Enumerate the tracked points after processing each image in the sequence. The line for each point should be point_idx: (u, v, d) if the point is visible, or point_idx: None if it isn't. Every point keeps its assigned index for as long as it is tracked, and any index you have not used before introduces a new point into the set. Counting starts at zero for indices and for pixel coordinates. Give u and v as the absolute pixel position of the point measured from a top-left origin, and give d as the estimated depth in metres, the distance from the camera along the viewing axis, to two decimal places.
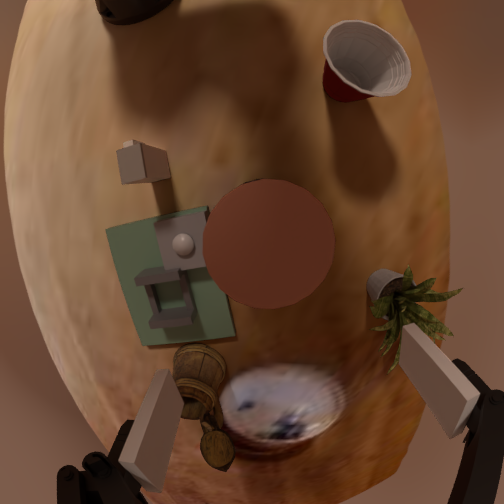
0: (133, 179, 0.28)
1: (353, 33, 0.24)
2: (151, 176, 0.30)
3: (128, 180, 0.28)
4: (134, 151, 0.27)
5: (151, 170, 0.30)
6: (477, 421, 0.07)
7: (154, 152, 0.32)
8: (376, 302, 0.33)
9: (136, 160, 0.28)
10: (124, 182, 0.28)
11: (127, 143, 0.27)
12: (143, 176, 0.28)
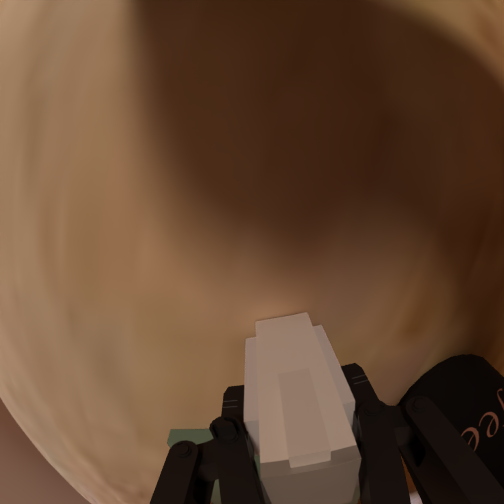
0: None
1: None
2: None
3: None
4: (335, 474, 0.06)
5: None
6: (359, 434, 0.09)
7: None
8: None
9: (336, 487, 0.07)
10: None
11: (307, 458, 0.06)
12: (346, 501, 0.07)
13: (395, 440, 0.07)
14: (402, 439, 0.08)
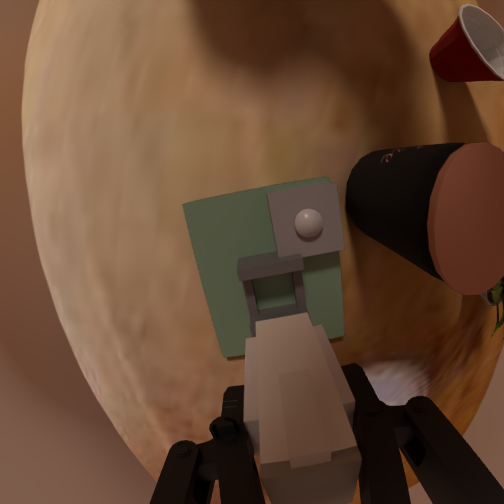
0: None
1: (470, 17, 0.15)
2: None
3: None
4: (335, 475, 0.06)
5: None
6: (359, 434, 0.09)
7: None
8: None
9: (336, 488, 0.07)
10: None
11: (307, 459, 0.06)
12: (346, 501, 0.07)
13: (395, 440, 0.07)
14: (403, 440, 0.08)
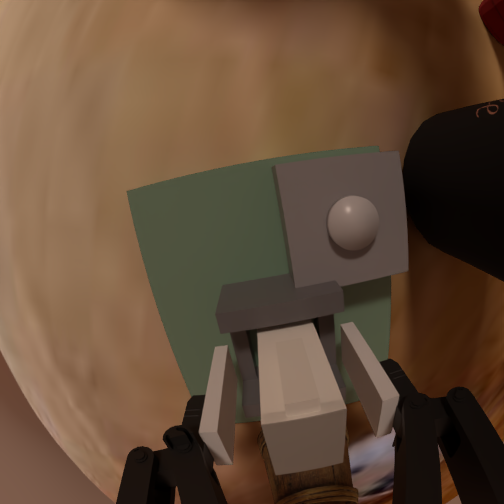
0: (310, 468, 0.09)
1: None
2: None
3: (295, 470, 0.09)
4: (325, 426, 0.08)
5: None
6: (401, 426, 0.08)
7: None
8: None
9: (327, 442, 0.09)
10: (283, 472, 0.09)
11: (300, 406, 0.08)
12: (338, 461, 0.09)
13: (435, 434, 0.07)
14: (443, 431, 0.08)
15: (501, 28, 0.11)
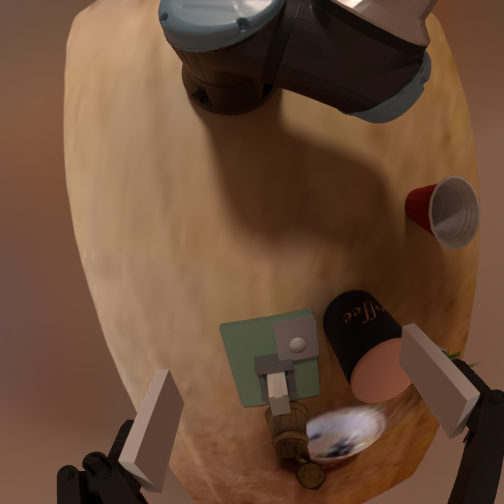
0: (281, 413, 0.40)
1: (446, 182, 0.33)
2: None
3: (277, 414, 0.40)
4: (283, 400, 0.39)
5: None
6: (477, 421, 0.07)
7: (285, 381, 0.44)
8: None
9: (285, 405, 0.39)
10: (274, 414, 0.40)
11: (277, 395, 0.39)
12: (289, 412, 0.40)
13: None
14: None
15: (413, 219, 0.41)
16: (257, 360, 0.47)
